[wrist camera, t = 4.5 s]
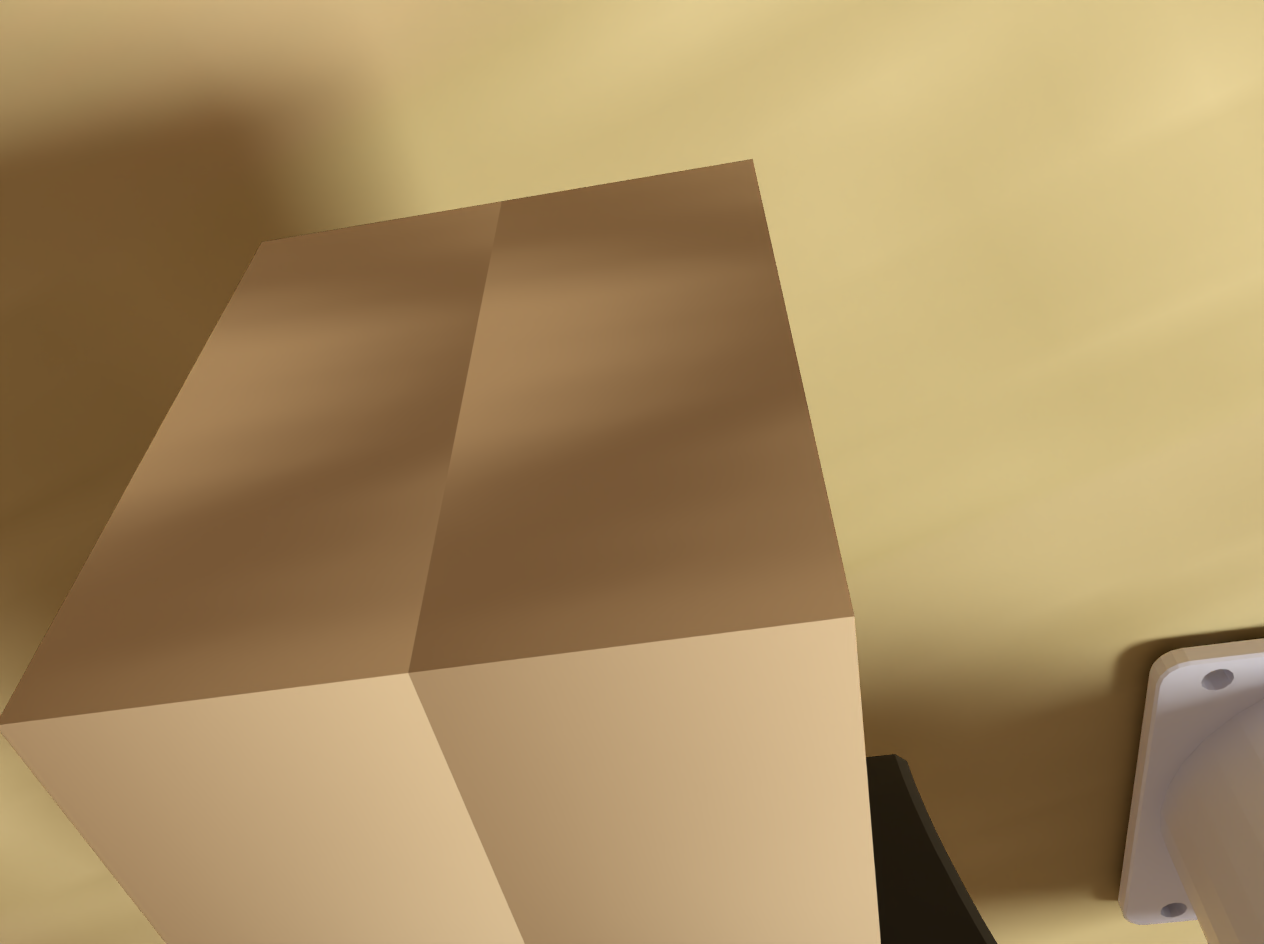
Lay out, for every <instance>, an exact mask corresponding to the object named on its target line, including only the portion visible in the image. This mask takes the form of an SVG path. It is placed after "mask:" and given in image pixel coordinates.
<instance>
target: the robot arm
mask: <svg viewBox="0 0 1264 944" xmlns="http://www.w3.org/2000/svg"><path fill="white" fill-rule="evenodd" d="M1214 670H1215V671H1214ZM1211 671H1212V672H1211ZM866 766H867V778H868V791H869V803H870V816H871V828H872V840H873V853H874V865H875V877H876V890H877V902H878V915H879V927H880V939H881V944H997V942H996V941H995V939H994V937H993V936H992V934H991V932H990V931H989V929H988V927H987V926H986V924H985V922H984V921H983V919H982V917H981V915H980V914H979V912H978V910H977V908H976V906H975V905H974V903H973V901H972V899H971V898H970V896H969V894H968V892H967V890H966V889H965V887H964V885H963V883H962V881H961V879H960V877H959V875H958V873H957V871H956V870H955V868H954V866H953V864H952V862H951V860H950V858H949V856H948V854H947V852H946V851H945V849H944V846H943V844H942V842H941V840H940V838H939V836H938V834H937V832H936V830H935V828H934V826H933V824H932V822H931V819H930V817H929V815H928V813H927V811H926V809H925V806H924V804H923V802H922V799H921V797H920V794H919V792H918V790H917V787H916V785H915V782H914V780H913V777H912V774H911V772H910V769H909V766H908V763H907V761H906V760H904V759H902V758H900V757H899V756H897V755H895V754H893V755H884V756H875V757H866ZM1118 902H1119V905H1120V908H1121V911H1122V913H1123V916H1124V918H1125V919H1126V920H1128V921H1129V922H1131V923H1135V924H1138V925H1148V924H1158V923H1169V922H1179V921H1189V920H1198V921H1199V924H1200V926H1201V928H1202V931H1203V933H1204V935H1205V938H1206V940H1207V942H1208V944H1264V638H1261V639H1253V640H1244V641H1236V642H1228V643H1219V644H1211V645H1203V646H1194V647H1186V648H1180V649H1176V650H1172V651H1169V652H1167V653H1165V654H1164V655H1162V656H1160V657H1159V658H1158V659H1157V660H1156V661H1155V662H1154V663H1153V665H1152V668H1151V670H1150V673H1149V680H1148V688H1147V695H1146V702H1145V709H1144V717H1143V724H1142V731H1141V738H1140V745H1139V753H1138V760H1137V767H1136V774H1135V782H1134V789H1133V796H1132V803H1131V810H1130V818H1129V825H1128V832H1127V839H1126V847H1125V854H1124V861H1123V868H1122V875H1121V883H1120V890H1119V897H1118Z"/></svg>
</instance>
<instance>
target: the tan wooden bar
mask: <svg viewBox="0 0 1264 944" xmlns="http://www.w3.org/2000/svg"><path fill="white" fill-rule="evenodd" d="M0 732H1V733H2V734H3V736H4V737H5V738H6V739H7V741H8V742H9V743H10V745H11V746H12V747H13V748H14V750H15V751H16V752H17V754H18V755H19V756H20V757H21V759H22V760H23V761H24V762H25V764H26V765H27V766H28V768H29V769H30V770H31V771H32V773H33V774H34V775H35V777H36V778H37V779H38V780H39V782H40V783H41V784H42V785H43V787H44V788H45V789H46V791H47V792H48V793H49V794H50V796H51V797H52V798H53V800H54V801H55V802H56V803H57V805H58V806H59V807H60V809H61V810H62V811H63V812H64V814H65V815H66V816H67V817H68V819H69V820H70V821H71V823H72V824H73V825H74V826H75V828H76V829H77V830H78V832H79V833H80V834H81V835H82V837H83V838H84V839H85V840H86V842H87V843H88V844H89V846H90V847H91V848H92V849H93V851H94V852H95V853H96V855H97V856H98V857H99V858H100V860H101V861H102V862H103V863H104V865H105V866H106V867H107V869H108V870H109V871H110V872H111V874H112V875H113V876H114V878H115V879H116V880H117V881H118V883H119V884H120V885H121V886H122V888H123V889H124V890H125V892H126V893H127V894H128V895H129V897H130V898H131V899H132V901H133V902H134V903H135V904H136V906H137V907H138V908H139V910H140V911H141V912H142V913H143V915H144V916H145V917H146V918H147V920H148V921H149V922H150V924H151V925H152V926H153V927H154V929H155V930H156V931H157V933H158V934H159V935H160V936H161V938H162V939H163V940H164V941H165V943H166V944H881V939H880V927H879V915H878V902H877V890H876V877H875V865H874V853H873V840H872V828H871V816H870V803H869V791H868V778H867V766H866V754H865V741H864V729H863V717H862V704H861V692H860V679H859V667H858V655H857V642H856V630H855V618H854V612H853V608H852V603H851V599H850V594H849V590H848V585H847V581H846V576H845V572H844V567H843V563H842V558H841V554H840V550H839V545H838V541H837V536H836V532H835V527H834V523H833V518H832V514H831V509H830V505H829V500H828V496H827V491H826V487H825V482H824V478H823V473H822V469H821V464H820V460H819V455H818V451H817V446H816V442H815V437H814V433H813V428H812V424H811V419H810V415H809V410H808V406H807V401H806V397H805V392H804V388H803V383H802V379H801V375H800V370H799V366H798V361H797V357H796V352H795V348H794V343H793V339H792V334H791V330H790V325H789V321H788V316H787V312H786V307H785V303H784V298H783V294H782V289H781V285H780V280H779V276H778V271H777V267H776V262H775V258H774V253H773V249H772V244H771V240H770V235H769V231H768V226H767V222H766V217H765V213H764V208H763V204H762V200H761V195H760V191H759V186H758V182H757V177H756V173H755V168H754V164H753V159H750V160H744V161H738V162H732V163H726V164H720V165H715V166H709V167H703V168H697V169H691V170H685V171H679V172H673V173H667V174H661V175H655V176H649V177H643V178H638V179H632V180H626V181H620V182H614V183H608V184H602V185H596V186H590V187H584V188H578V189H572V190H566V191H560V192H555V193H549V194H543V195H537V196H531V197H525V198H519V199H513V200H507V201H501V202H495V203H489V204H483V205H477V206H472V207H466V208H460V209H454V210H448V211H442V212H436V213H430V214H424V215H418V216H412V217H406V218H400V219H394V220H389V221H383V222H377V223H371V224H365V225H359V226H353V227H347V228H341V229H335V230H329V231H323V232H317V233H311V234H306V235H300V236H294V237H288V238H282V239H276V240H270V241H264V242H262V243H261V244H260V246H259V248H258V250H257V252H256V253H255V255H254V257H253V259H252V261H251V262H250V264H249V266H248V268H247V270H246V272H245V273H244V275H243V277H242V279H241V281H240V282H239V284H238V286H237V288H236V290H235V292H234V293H233V295H232V297H231V299H230V301H229V302H228V304H227V306H226V308H225V310H224V312H223V313H222V315H221V317H220V319H219V321H218V322H217V324H216V326H215V328H214V330H213V331H212V333H211V335H210V337H209V339H208V341H207V342H206V344H205V346H204V348H203V350H202V351H201V353H200V355H199V357H198V359H197V361H196V362H195V364H194V366H193V368H192V370H191V371H190V373H189V375H188V377H187V379H186V381H185V382H184V384H183V386H182V388H181V390H180V391H179V393H178V395H177V397H176V399H175V400H174V402H173V404H172V406H171V408H170V410H169V411H168V413H167V415H166V417H165V419H164V420H163V422H162V424H161V426H160V428H159V430H158V431H157V433H156V435H155V437H154V439H153V440H152V442H151V444H150V446H149V448H148V450H147V451H146V453H145V455H144V457H143V459H142V460H141V462H140V464H139V466H138V468H137V469H136V471H135V473H134V475H133V477H132V479H131V480H130V482H129V484H128V486H127V488H126V489H125V491H124V493H123V495H122V497H121V499H120V500H119V502H118V504H117V506H116V508H115V509H114V511H113V513H112V515H111V517H110V519H109V520H108V522H107V524H106V526H105V528H104V529H103V531H102V533H101V535H100V537H99V538H98V540H97V542H96V544H95V546H94V548H93V549H92V551H91V553H90V555H89V557H88V558H87V560H86V562H85V564H84V566H83V568H82V569H81V571H80V573H79V575H78V577H77V578H76V580H75V582H74V584H73V586H72V588H71V589H70V591H69V593H68V595H67V597H66V598H65V600H64V602H63V604H62V606H61V607H60V609H59V611H58V613H57V615H56V617H55V618H54V620H53V622H52V624H51V626H50V627H49V629H48V631H47V633H46V635H45V637H44V638H43V640H42V642H41V644H40V646H39V647H38V649H37V651H36V653H35V655H34V657H33V658H32V660H31V662H30V664H29V666H28V667H27V669H26V671H25V673H24V675H23V676H22V678H21V680H20V682H19V684H18V686H17V687H16V689H15V691H14V693H13V695H12V696H11V698H10V700H9V702H8V704H7V706H6V707H5V709H4V711H3V713H2V715H1V716H0Z"/></svg>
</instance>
